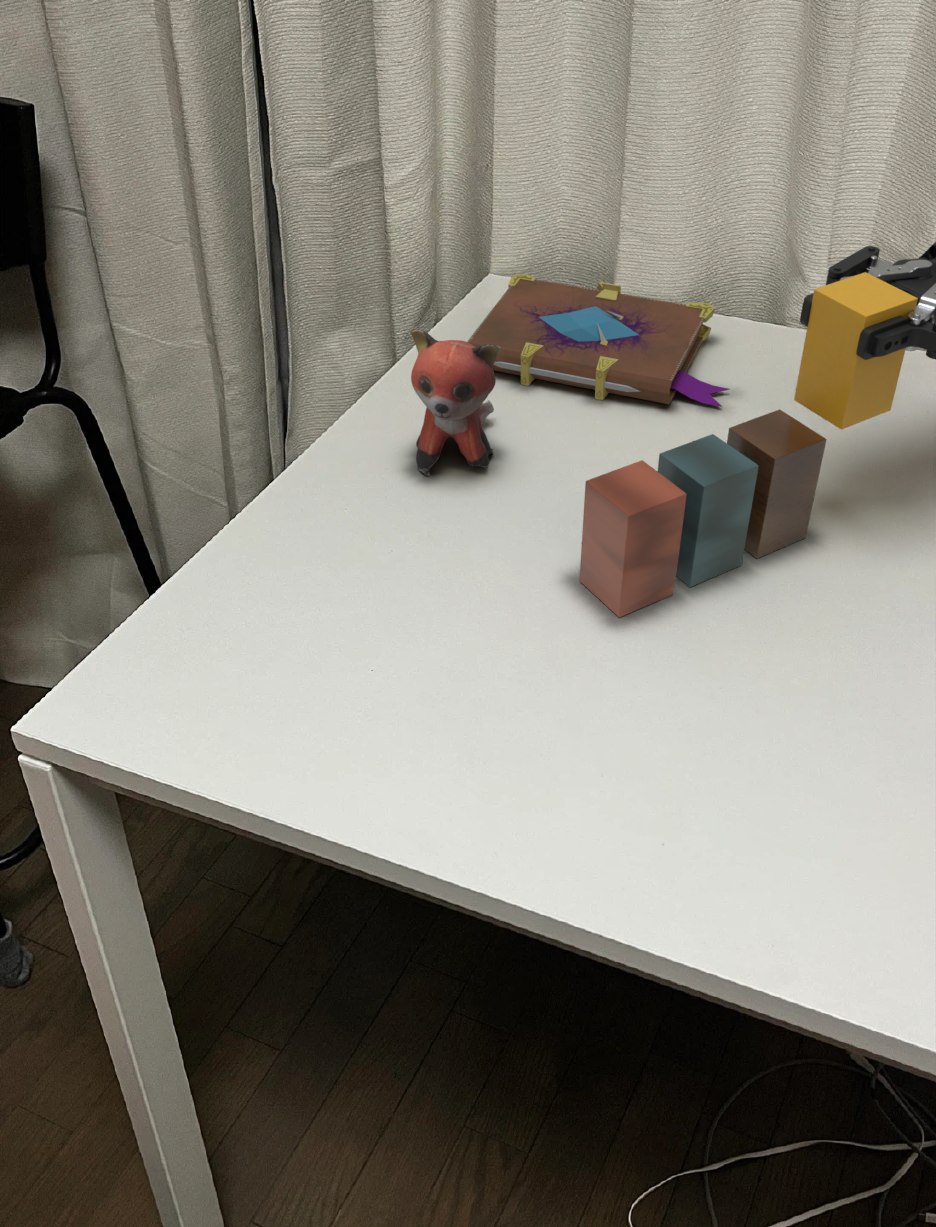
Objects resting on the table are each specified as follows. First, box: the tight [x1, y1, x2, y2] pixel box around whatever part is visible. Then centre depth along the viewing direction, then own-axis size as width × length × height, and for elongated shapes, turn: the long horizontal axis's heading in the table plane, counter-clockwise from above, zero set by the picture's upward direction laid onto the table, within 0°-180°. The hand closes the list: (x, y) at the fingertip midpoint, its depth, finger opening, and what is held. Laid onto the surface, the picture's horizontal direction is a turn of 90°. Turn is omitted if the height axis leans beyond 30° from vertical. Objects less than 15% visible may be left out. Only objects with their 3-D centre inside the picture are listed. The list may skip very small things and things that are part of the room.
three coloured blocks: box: [578, 409, 827, 618], centre depth 88 cm, size 18×5×9 cm, turn 121°
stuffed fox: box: [410, 329, 501, 477], centre depth 99 cm, size 8×11×12 cm
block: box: [793, 272, 918, 430], centre depth 87 cm, size 5×5×9 cm
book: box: [466, 273, 730, 408], centre depth 114 cm, size 16×25×5 cm, turn 67°
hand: (833, 328), depth 84 cm, fingers closed on block, 5 cm apart
